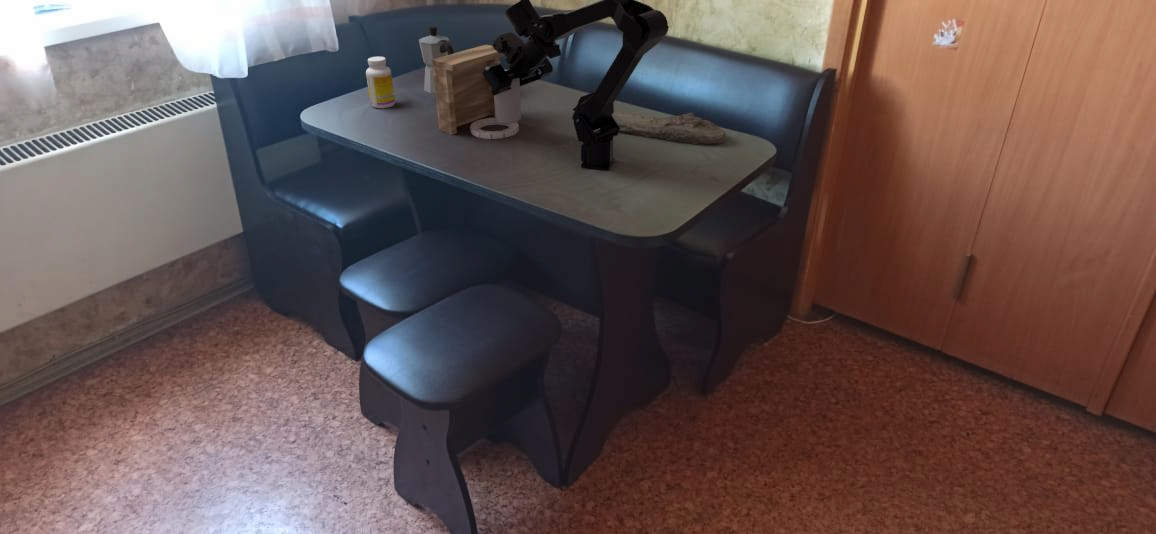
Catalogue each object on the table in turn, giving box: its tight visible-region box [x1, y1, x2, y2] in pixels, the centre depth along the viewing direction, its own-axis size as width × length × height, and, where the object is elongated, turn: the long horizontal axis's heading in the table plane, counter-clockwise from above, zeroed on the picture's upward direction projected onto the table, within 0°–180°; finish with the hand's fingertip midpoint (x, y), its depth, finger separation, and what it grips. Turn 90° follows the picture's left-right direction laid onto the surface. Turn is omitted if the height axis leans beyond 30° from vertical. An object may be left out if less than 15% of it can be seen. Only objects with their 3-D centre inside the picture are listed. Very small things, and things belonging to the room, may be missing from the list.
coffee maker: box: [418, 25, 455, 95], centre depth 221 cm, size 15×9×18 cm, turn 43°
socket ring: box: [469, 117, 520, 140], centre depth 197 cm, size 12×12×1 cm
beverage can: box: [494, 69, 522, 124], centre depth 190 cm, size 6×6×12 cm
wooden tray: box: [432, 44, 506, 135], centre depth 197 cm, size 7×18×18 cm, turn 140°
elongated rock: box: [612, 111, 727, 145], centre depth 195 cm, size 35×5×10 cm
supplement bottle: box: [365, 56, 396, 109], centre depth 212 cm, size 7×7×13 cm
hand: (502, 90), depth 190 cm, fingers closed on beverage can, 6 cm apart
